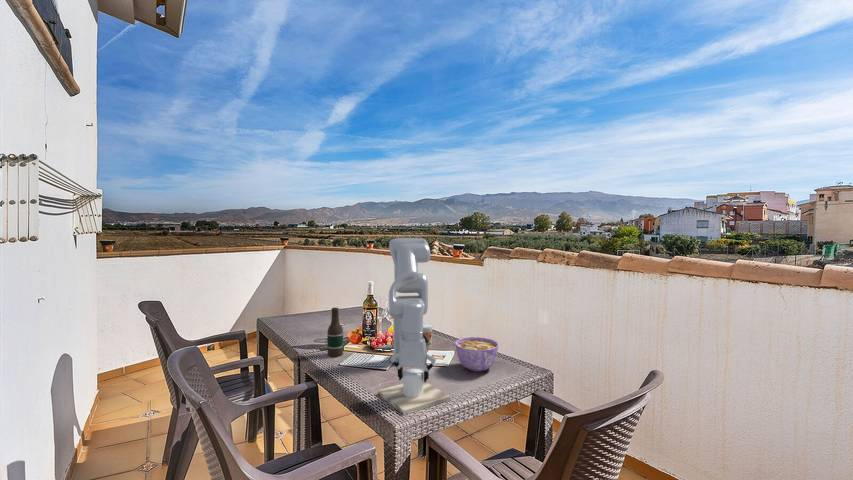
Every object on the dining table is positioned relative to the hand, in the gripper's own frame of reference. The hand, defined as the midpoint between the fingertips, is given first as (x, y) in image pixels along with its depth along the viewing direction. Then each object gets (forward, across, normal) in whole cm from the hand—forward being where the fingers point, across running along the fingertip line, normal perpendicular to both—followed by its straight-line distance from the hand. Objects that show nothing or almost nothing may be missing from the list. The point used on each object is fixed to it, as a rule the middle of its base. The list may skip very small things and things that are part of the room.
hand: (413, 379), depth 145 cm
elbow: (+5, 0, +2) cm, 5 cm away
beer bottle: (+8, -49, +39) cm, 63 cm away
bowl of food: (+7, +22, +34) cm, 41 cm away
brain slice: (+8, -29, +55) cm, 63 cm away
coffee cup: (+8, -8, +60) cm, 61 cm away
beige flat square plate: (+7, 0, 0) cm, 7 cm away
